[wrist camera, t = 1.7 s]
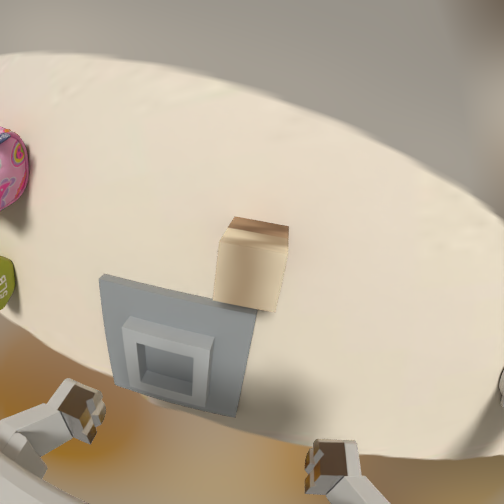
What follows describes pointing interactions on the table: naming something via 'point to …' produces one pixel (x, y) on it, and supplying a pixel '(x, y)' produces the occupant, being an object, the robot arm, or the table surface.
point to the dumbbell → (6, 281)
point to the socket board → (176, 344)
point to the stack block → (251, 264)
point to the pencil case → (12, 167)
